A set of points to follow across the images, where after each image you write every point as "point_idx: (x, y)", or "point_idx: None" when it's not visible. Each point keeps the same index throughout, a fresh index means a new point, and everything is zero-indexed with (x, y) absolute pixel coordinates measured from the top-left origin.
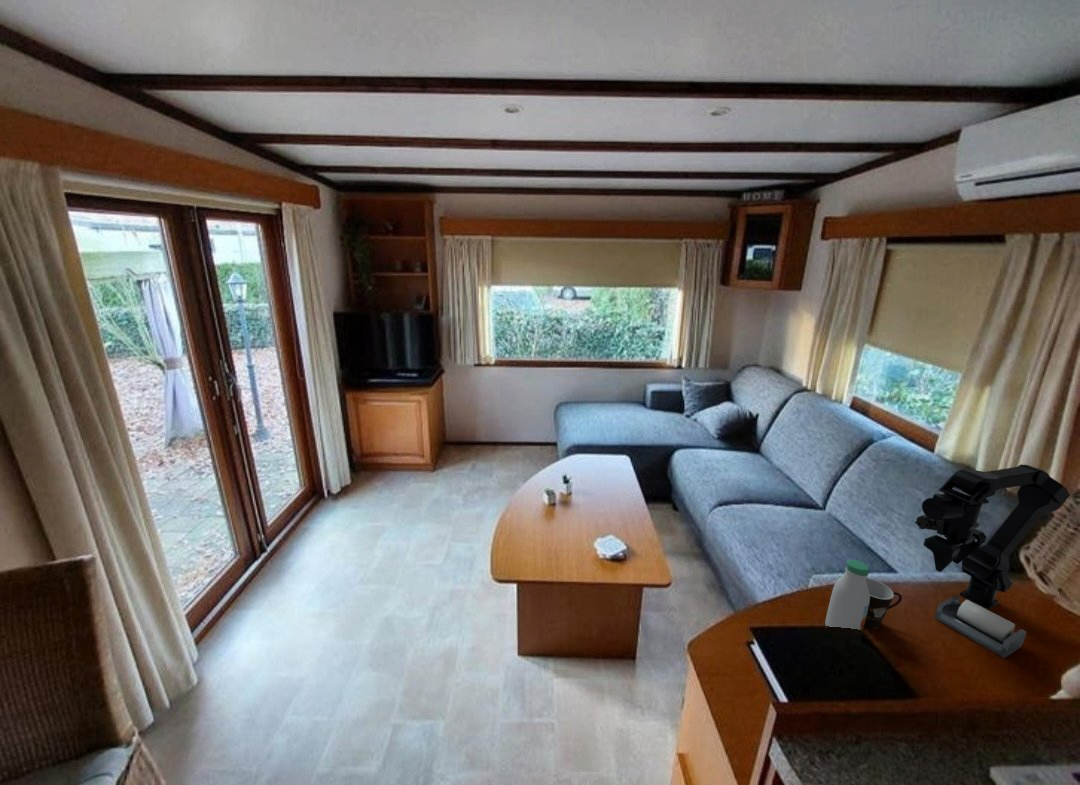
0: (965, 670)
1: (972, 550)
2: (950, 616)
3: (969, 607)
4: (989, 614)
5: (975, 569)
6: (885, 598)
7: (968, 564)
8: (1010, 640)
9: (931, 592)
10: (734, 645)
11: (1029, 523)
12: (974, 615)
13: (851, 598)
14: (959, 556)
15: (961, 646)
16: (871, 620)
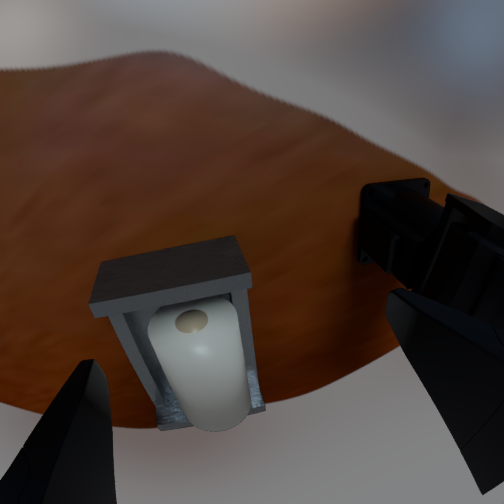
0: (30, 389)
1: (465, 460)
2: (119, 315)
3: (175, 369)
4: (202, 405)
5: (440, 301)
6: None
7: (461, 269)
8: (173, 427)
9: (270, 138)
10: None
11: None
12: (166, 376)
13: None
14: (429, 357)
15: (78, 354)
16: None
